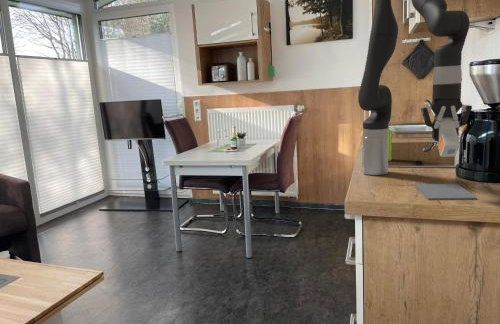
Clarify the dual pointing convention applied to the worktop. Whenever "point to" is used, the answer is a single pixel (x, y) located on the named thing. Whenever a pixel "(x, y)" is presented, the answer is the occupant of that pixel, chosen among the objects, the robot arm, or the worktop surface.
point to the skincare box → (448, 138)
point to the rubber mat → (444, 192)
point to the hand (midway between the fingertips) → (444, 140)
